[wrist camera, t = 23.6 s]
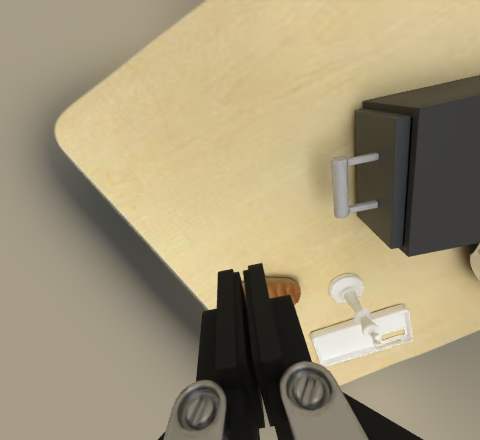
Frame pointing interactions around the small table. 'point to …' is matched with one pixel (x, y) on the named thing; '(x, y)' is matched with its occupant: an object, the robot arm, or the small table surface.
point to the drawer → (377, 174)
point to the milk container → (475, 259)
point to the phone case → (361, 336)
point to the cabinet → (441, 164)
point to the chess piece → (354, 303)
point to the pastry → (282, 288)
